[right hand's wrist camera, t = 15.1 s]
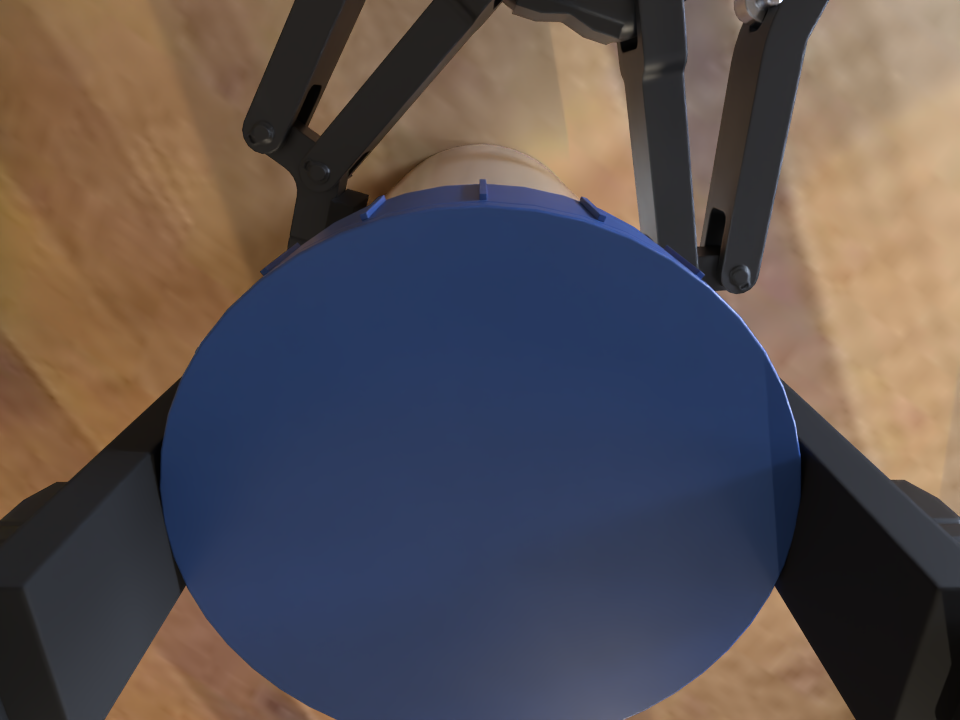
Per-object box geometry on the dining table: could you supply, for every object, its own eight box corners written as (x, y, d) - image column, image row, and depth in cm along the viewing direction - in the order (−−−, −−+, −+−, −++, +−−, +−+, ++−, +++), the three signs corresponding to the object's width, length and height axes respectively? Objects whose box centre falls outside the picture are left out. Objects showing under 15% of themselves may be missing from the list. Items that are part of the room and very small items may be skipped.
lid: (426, 38, 10) (408, 19, 8) (860, 411, 12) (946, 481, 10) (121, 486, 13) (44, 568, 10) (517, 715, 15) (524, 822, 13)
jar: (509, 96, 26) (573, 86, 8) (623, 279, 29) (854, 568, 11) (333, 227, 28) (73, 447, 10) (455, 386, 31) (421, 777, 13)
